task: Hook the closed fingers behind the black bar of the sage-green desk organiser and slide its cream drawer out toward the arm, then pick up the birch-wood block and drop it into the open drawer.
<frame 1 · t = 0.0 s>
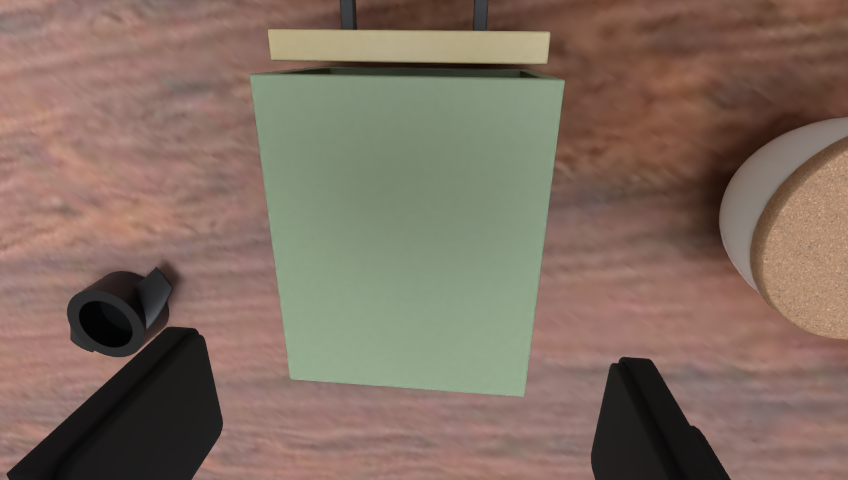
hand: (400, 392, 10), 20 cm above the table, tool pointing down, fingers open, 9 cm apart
drawer: (415, 127, 23), point 5 cm above the table, slide at 0.5 cm
organiser: (423, 194, 29), on the table
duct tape: (135, 302, 35), on the table
trinket box: (779, 191, 27), on the table
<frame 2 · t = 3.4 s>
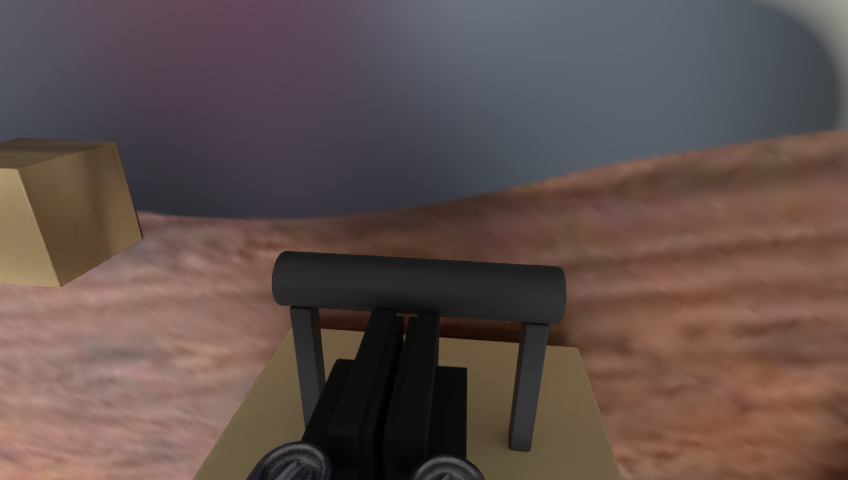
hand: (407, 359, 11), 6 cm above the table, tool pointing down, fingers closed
block: (83, 190, 18), on the table
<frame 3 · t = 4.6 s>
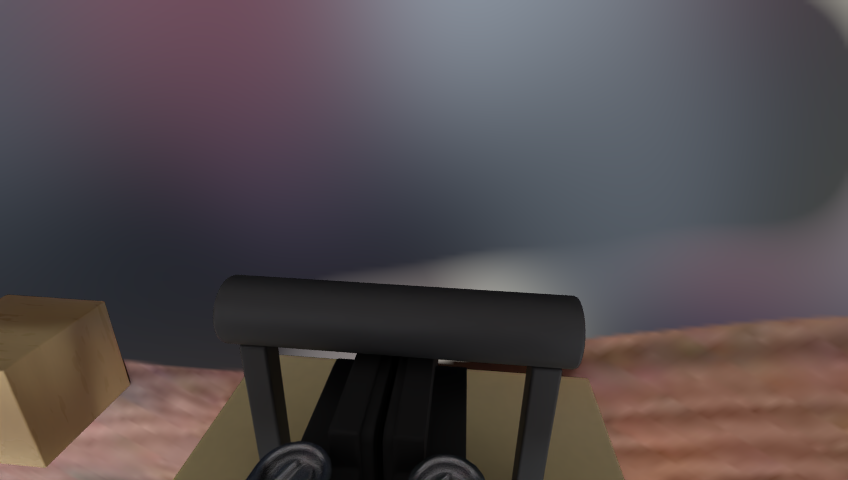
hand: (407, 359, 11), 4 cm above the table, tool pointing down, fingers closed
block: (71, 340, 18), on the table
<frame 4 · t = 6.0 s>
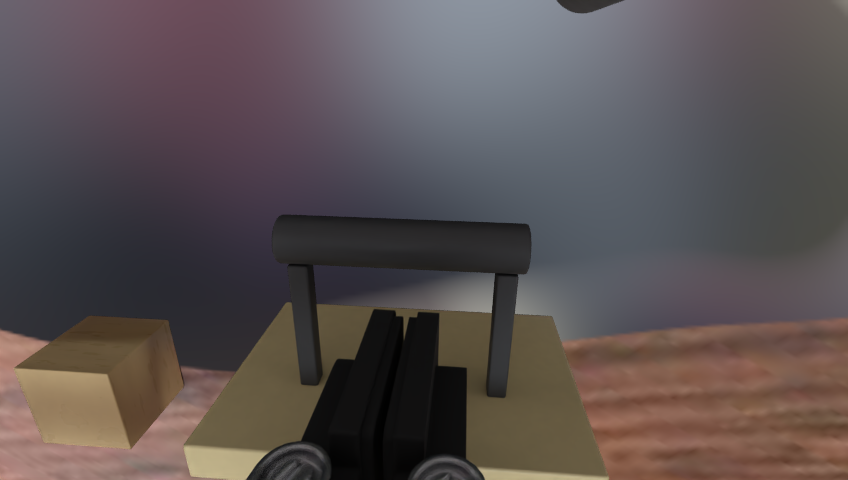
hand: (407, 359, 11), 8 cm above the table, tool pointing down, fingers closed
drawer: (406, 460, 17), point 5 cm above the table, slide at 9.4 cm
block: (138, 351, 22), on the table
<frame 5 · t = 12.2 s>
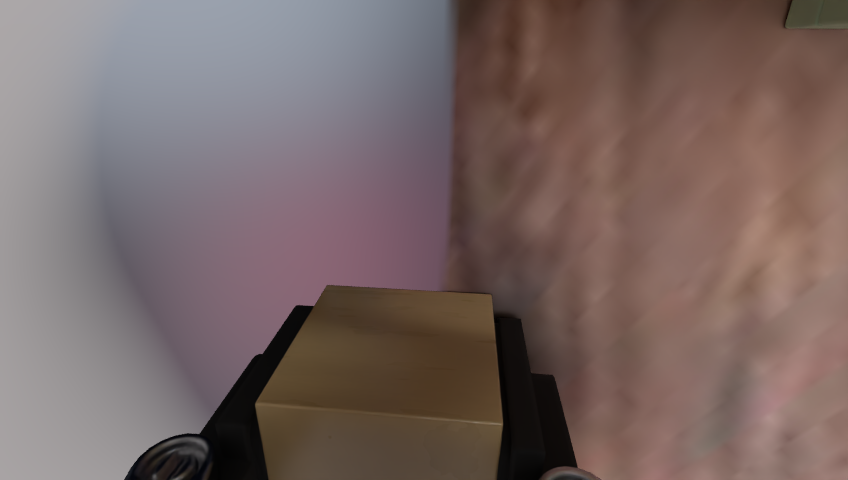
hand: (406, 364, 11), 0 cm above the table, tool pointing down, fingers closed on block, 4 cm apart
block: (408, 356, 11), on the table, touching gripper
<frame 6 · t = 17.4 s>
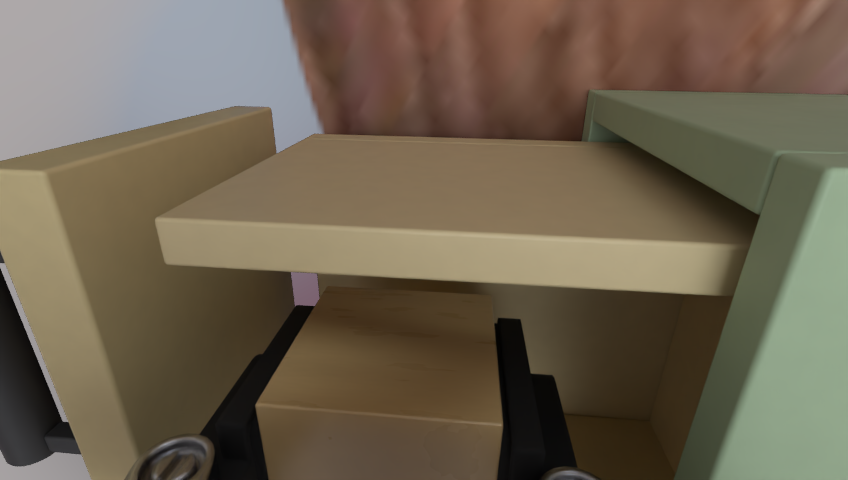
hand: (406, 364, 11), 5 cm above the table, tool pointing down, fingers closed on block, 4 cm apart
drawer: (355, 350, 12), point 5 cm above the table, slide at 9.4 cm
block: (408, 357, 11), point 5 cm above the table, touching gripper
organiser: (797, 291, 15), on the table
when the fingers open (8 cm above the table, at t = 27.7 s): block drops 6 cm, resting on drawer.
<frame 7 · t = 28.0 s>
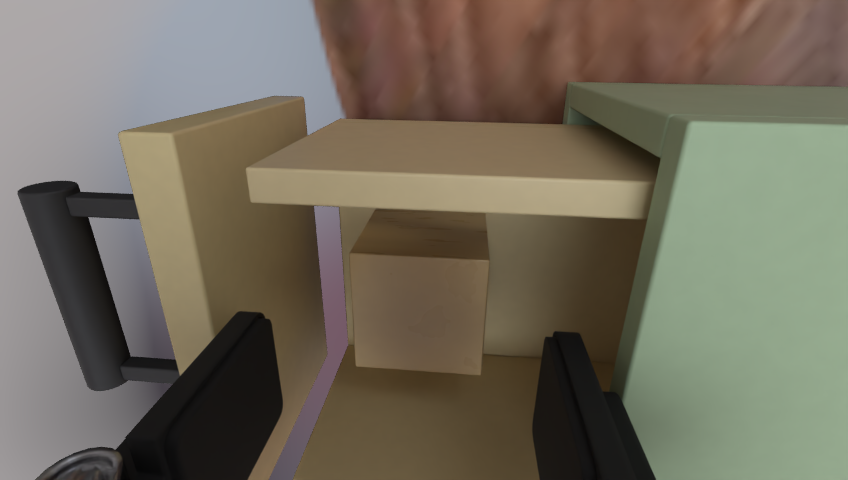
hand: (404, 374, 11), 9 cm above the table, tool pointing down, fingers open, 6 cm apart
drawer: (376, 293, 14), point 5 cm above the table, slide at 9.4 cm, touching block
block: (429, 259, 17), point 2 cm above the table, touching drawer
organiser: (746, 253, 18), on the table
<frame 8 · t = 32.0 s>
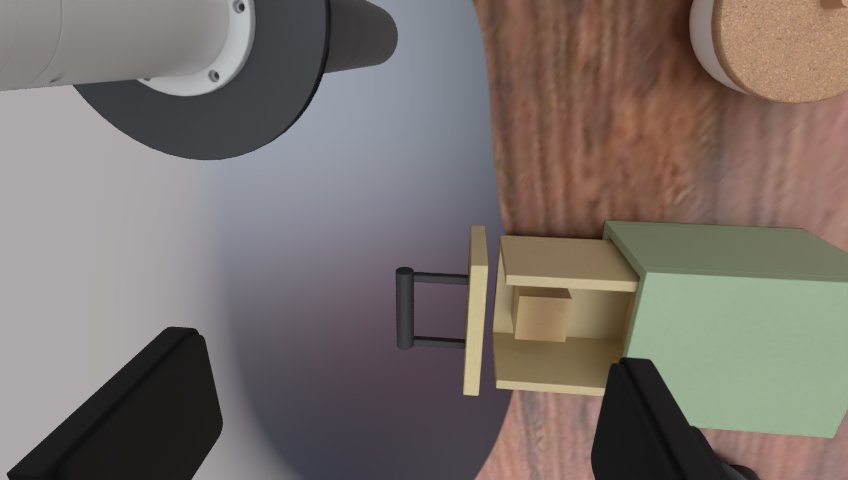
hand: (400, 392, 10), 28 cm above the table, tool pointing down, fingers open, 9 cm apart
drawer: (521, 309, 36), point 5 cm above the table, slide at 10.0 cm, touching block
block: (535, 294, 38), point 2 cm above the table, touching drawer
organiser: (683, 290, 39), on the table
trinket box: (744, 11, 31), on the table
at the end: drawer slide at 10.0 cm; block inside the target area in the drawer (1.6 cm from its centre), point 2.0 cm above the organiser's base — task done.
